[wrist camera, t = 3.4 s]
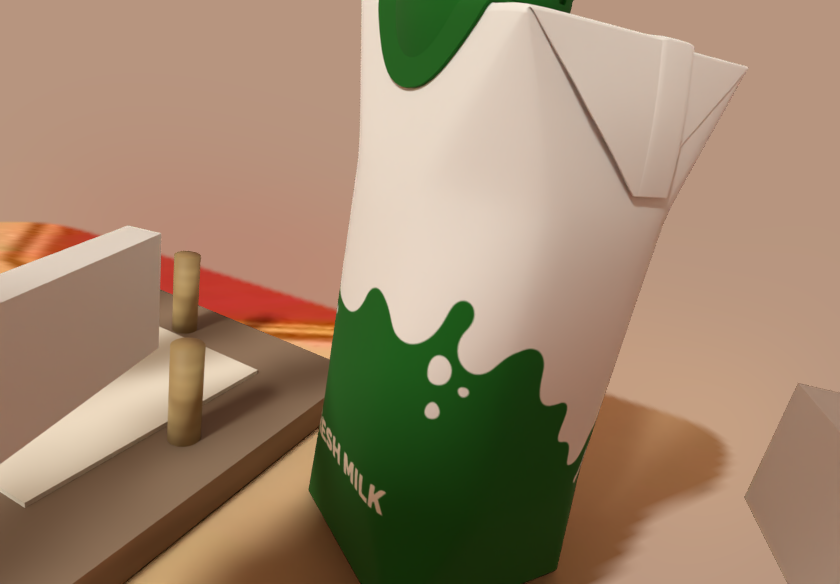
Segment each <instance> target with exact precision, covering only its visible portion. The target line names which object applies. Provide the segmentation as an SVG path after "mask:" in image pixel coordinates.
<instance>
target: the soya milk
mask: <svg viewBox="0 0 840 584" xmlns="http://www.w3.org/2000/svg"><path fill="white" fill-rule="evenodd" d="M572 2H573V0H362V14H361V16H362V17H361V22H362V23H361V92H360V94H361V95H360V141H359V155H358V164H357V171H356V178H355V186H354V194H353V200H352V208H351V214H350V222H349V228H348V236H347V243H346V250H345V257H344V264H343V271H342V278H341V285H340V292H339V299H338V306H337V313H336V320H335V327H334V334H333V341H332V348H331V355H330V362H329V369H328V376H327V383H326V390H325V397H324V403H323V409H322V415H321V420H320V426H319V432H318V438H317V444H316V449H315V455H314V461H313V467H312V473H311V479H310V485H309V492H310V494H311V495H312V497H313V499H314V501H315V503H316V504H317V506H318V508H319V510H320V512H321V513H322V515H323V517H324V519H325V520H326V522H327V524H328V526H329V528H330V529H331V531H332V533H333V535H334V537H335V538H336V540H337V542H338V544H339V546H340V547H341V549H342V551H343V553H344V555H345V556H346V558H347V560H348V562H349V564H350V565H351V567H352V569H353V571H354V573H355V574H356V576H357V578H358V580H359V582H360V583H361V584H523V583H525V582H528V581H530V580H533V579H535V578H537V577H540V576H542V575H545V574H547V573H550V572H552V571H555V570H556V569H557V565H558V561H559V556H560V552H561V548H562V544H563V539H564V535H565V531H566V526H567V522H568V518H569V513H570V509H571V505H572V500H573V496H574V492H575V487H576V483H577V478H578V475H579V471H580V467H581V464H582V461H583V458H584V455H585V452H586V449H587V446H588V443H589V440H590V437H591V434H592V431H593V428H594V425H595V422H596V419H597V416H598V413H599V410H600V407H601V404H602V401H603V398H604V395H605V393H606V390H607V387H608V384H609V381H610V378H611V375H612V372H613V369H614V366H615V363H616V360H617V357H618V354H619V351H620V348H621V345H622V342H623V339H624V337H625V334H626V331H627V328H628V325H629V322H630V319H631V316H632V313H633V310H634V307H635V304H636V301H637V298H638V296H639V293H640V290H641V287H642V283H643V281H644V278H645V275H646V272H647V269H648V266H649V263H650V260H651V258H652V255H653V252H654V249H655V246H656V243H657V240H658V238H659V234H660V232H661V229H662V226H663V224H664V221H665V219H666V217H667V215H668V212H669V210H670V208H671V206H672V204H673V202H674V200H675V199H676V197H677V195H678V193H679V191H680V189H681V188H682V186H683V184H684V182H685V180H686V178H687V177H688V175H689V173H690V171H691V169H692V168H693V166H694V164H695V162H696V160H697V159H698V157H699V155H700V153H701V151H702V150H703V148H704V146H705V144H706V142H707V140H708V139H709V137H710V135H711V133H712V132H713V129H714V128H715V126H716V125H717V123H718V121H719V119H720V117H721V116H722V114H723V112H724V110H725V108H726V107H727V105H728V103H729V101H730V100H731V98H732V96H733V94H734V92H735V91H736V89H737V87H738V85H739V84H740V82H741V80H742V78H743V76H744V75H745V73H746V71H747V69H748V67H746V66H743V65H739V64H735V63H732V62H728V61H725V60H721V59H717V58H714V57H710V56H706V55H702V54H699V53H695V52H694V46H693V45H691V44H690V43H688V42H684V41H681V40H678V39H674V38H670V37H666V36H658V35H649V34H644V33H640V32H637V31H633V30H629V29H626V28H622V27H618V26H614V25H610V24H607V23H603V22H599V21H596V20H592V19H588V18H584V17H581V16H577V15H573V14H570V11H571V7H572Z"/></svg>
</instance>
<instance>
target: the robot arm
mask: <svg viewBox="0 0 840 584" xmlns="http://www.w3.org/2000/svg"><path fill="white" fill-rule="evenodd" d="M160 268H161V233H158V232H153V231H149V230H145V229H140V228H136V227H132V226H126V227H123V228H120V229H118V230H115V231H112V232H110V233H107V234H105V235H102V236H99V237H96V238H94V239H91V240H88V241H86V242H83V243H81V244H78V245H75V246H73V247H70V248H67V249H65V250H62V251H59V252H57V253H54V254H51V255H49V256H46V257H43V258H41V259H38V260H35V261H33V262H30V263H28V264H25V265H22V266H20V267H17V268H14V269H12V270H9V271H6V272H4V273H1V274H0V464H1V463H3V462H4V461H5V460H7V459H8V458H9V457H11V456H12V455H13V454H15V453H16V452H18V451H19V450H20V449H22V448H23V447H24V446H26V445H27V444H28V443H30V442H31V441H32V440H34V439H35V438H37V437H38V436H39V435H41V434H42V433H43V432H45V431H46V430H47V429H49V428H50V427H52V426H53V425H54V424H56V423H57V422H58V421H60V420H61V419H62V418H64V417H65V416H66V415H68V414H69V413H71V412H72V411H73V410H75V409H76V408H77V407H79V406H80V405H81V404H83V403H84V402H86V401H87V400H88V399H90V398H91V397H92V396H94V395H95V394H96V393H98V392H99V391H101V390H102V389H103V388H105V387H106V386H107V385H109V384H110V383H111V382H113V381H114V380H115V379H117V378H118V377H120V376H121V375H122V374H124V373H125V372H126V371H128V370H129V369H130V368H132V367H133V366H135V365H136V364H137V363H139V362H140V361H141V360H143V359H144V358H145V357H147V356H148V355H149V354H151V353H152V352H154V351H155V350H156V349H158V348H159V310H160ZM745 500H746V502H747V503H748V506H749V507H750V509H751V512H752V514H753V516H754V518H755V520H756V522H757V524H758V526H759V528H760V529H761V532H762V533H763V536H764V538H765V539H766V542H767V544H768V546H769V548H770V549H771V551H772V554H773V556H774V558H775V560H776V561H777V564H778V565H779V567H780V570H781V572H782V574H783V576H784V578H785V580H786V582H787V584H840V393H838V392H833V391H830V390H825V389H821V388H817V387H812V386H808V385H804V384H800V383H798V385H797V387H796V389H795V391H794V393H793V395H792V397H791V399H790V401H789V404H788V406H787V408H786V410H785V412H784V414H783V417H782V419H781V421H780V423H779V425H778V427H777V429H776V431H775V433H774V435H773V438H772V440H771V442H770V444H769V446H768V448H767V450H766V452H765V455H764V457H763V459H762V461H761V463H760V465H759V467H758V470H757V471H756V474H755V476H754V478H753V480H752V482H751V484H750V486H749V488H748V491H747V493H746V495H745Z"/></svg>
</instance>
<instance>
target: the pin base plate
mask: <svg viewBox="0 0 840 584" xmlns="http://www.w3.org/2000/svg"><path fill="white" fill-rule="evenodd" d="M200 260H201V255H200V254H198V253H196V252H191V251H180V252H177V253H175V254H174V283H173V295H172V294H170V293H167V292H165V291H162V290H160V310H159V348H158V349H156V350H155V351H154V352H152V353H151V354H149V355H148V356H147V357H145V358H144V359H143V360H141V361H140V362H139V363H137V364H136V365H135V366H133V367H132V368H130V369H129V370H128V371H126V372H125V373H124V374H122V375H121V376H120V377H118V378H117V379H115V380H114V381H113V382H111V383H110V384H109V385H107V386H106V387H105V388H103V389H102V390H101V391H99V392H98V393H96V394H95V395H94V396H92V397H91V398H90V399H88V400H87V401H86V402H84V403H83V404H81V405H80V406H79V407H77V408H76V409H75V410H73V411H72V412H71V413H69V414H68V415H66V416H65V417H64V418H62V419H61V420H60V421H58V422H57V423H56V424H54V425H53V426H52V427H50V428H49V429H47V430H46V431H45V432H43V433H42V434H41V435H39V436H38V437H37V438H35V439H34V440H32V441H31V442H30V443H28V444H27V445H26V446H24V447H23V448H22V449H20V450H19V451H18V452H16V453H15V454H13V455H12V456H11V457H9V458H8V459H7V460H5V461H4V462H3V463H1V464H0V584H123V583H124V582H125V581H127V580H128V579H129V578H130V577H132V576H133V575H134V574H135V573H137V572H138V571H139V570H140V569H142V568H143V567H144V566H145V565H147V564H148V563H149V562H150V561H152V560H153V559H154V558H155V557H157V556H158V555H159V554H160V553H162V552H163V551H164V550H165V549H167V548H168V547H169V546H170V545H172V544H173V543H174V542H175V541H177V540H178V539H179V538H180V537H182V536H183V535H184V534H185V533H187V532H188V531H189V530H190V529H192V528H193V527H194V526H195V525H196V524H198V523H199V522H200V521H201V520H203V519H204V518H205V517H206V516H208V515H209V514H210V513H211V512H213V511H214V510H215V509H216V508H218V507H219V506H220V505H221V504H223V503H224V502H225V501H226V500H228V499H229V498H230V497H231V496H233V495H234V494H235V493H236V492H238V491H239V490H240V489H241V488H243V487H244V486H245V485H246V484H248V483H249V482H250V481H251V480H253V479H254V478H255V477H256V476H258V475H259V474H260V473H261V472H263V471H264V470H265V469H266V468H268V467H269V466H270V465H271V464H273V463H274V462H275V461H276V460H278V459H279V458H280V457H281V456H283V455H284V454H285V453H286V452H288V451H289V450H290V449H291V448H293V447H294V446H295V445H296V444H298V443H299V442H300V441H301V440H303V439H304V438H305V437H306V436H308V435H309V434H310V433H311V432H313V431H314V430H315V429H316V428H318V427H319V426H320V420H321V415H322V409H323V403H324V397H325V390H326V383H327V376H328V369H329V362H330V360H329V359H327V358H324V357H322V356H320V355H317V354H315V353H312V352H310V351H308V350H305V349H303V348H300V347H298V346H295V345H293V344H291V343H288V342H286V341H283V340H281V339H279V338H276V337H274V336H271V335H269V334H266V333H264V332H262V331H259V330H257V329H254V328H252V327H249V326H247V325H245V324H242V323H240V322H237V321H235V320H233V319H230V318H228V317H225V316H223V315H220V314H218V313H216V312H213V311H211V310H208V309H206V308H204V307H201V306H199V305H198V300H199V280H200Z"/></svg>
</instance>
